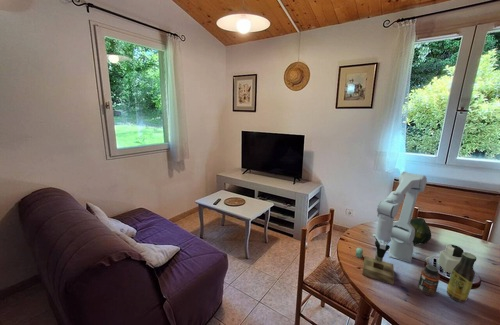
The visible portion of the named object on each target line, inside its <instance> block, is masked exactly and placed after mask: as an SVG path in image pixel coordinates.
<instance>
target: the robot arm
mask: <svg viewBox="0 0 500 325" xmlns="http://www.w3.org/2000/svg"><path fill="white" fill-rule="evenodd" d="M427 181H428V180H427V176H426V175H422V174H417V173H416V174H415V173H411V172H408V171H402V172H401V173H400V174H399V178H398V186H397V187H396V189H395V190H393V191H391V192H390V193H389V194H388V195H387V197H386V198H385V199H384V200H383V201H382V200H381V201H380V202H379V203H378V205H377V208H376V213H377V218H378V219H377V224H376V225H377V226H376V233H372V237H373V238H374V239H375V241H374V245H375V247H376V248H375V249H377V256H378V257H380V258H383V259H384V257H385V254H386V253H387V251H388V257H390V258H392V259H397V260H400V261H403V262H407V263H412V258H413V254H414V246H415V244H414V243H413V240H414V236H415V229H414V227H413V226H412V225H411V224H410V221H411V219H413V218H412V216H413V213H414V210H415V206H416V202H417V198H418V196H419V194H420V193H424V191H425V189H426V186H427ZM401 205H402V208H401V211H400V215H399V219H398V220H395V218H396V216H397V214H398V213H399V210H400V206H401ZM394 220H395V221H394ZM401 227H402V228H401ZM390 242H391V243H390ZM388 244H390V245H388Z"/></svg>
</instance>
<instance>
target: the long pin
mask: <svg viewBox="0 0 500 325" xmlns="http://www.w3.org/2000/svg"><path fill="white" fill-rule="evenodd" d="M375 249H376V251H375V257H374V259H375V260H377V261H379V262H382V261H384V260H383V259H384V257H383V258H380V257H378V256H377V248H375Z"/></svg>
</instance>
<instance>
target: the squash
mask: <svg viewBox="0 0 500 325" xmlns="http://www.w3.org/2000/svg"><path fill="white" fill-rule="evenodd" d="M410 224H411V225H412V226H413V227H414V229H415V236H414V240H413V242H412V243H413V245H425V244H427V243H429V241H430V240H431V239H432V232H431V227H430V226H429V225H428V223H427V221H426V220H425V219H424V218H423V217H415V218H411V221H410ZM401 228H402V227H401Z"/></svg>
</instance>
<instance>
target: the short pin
mask: <svg viewBox="0 0 500 325" xmlns="http://www.w3.org/2000/svg"><path fill="white" fill-rule="evenodd" d="M355 252H356V253H355V257H357V258H358V259H362V257H363V255H364V254H363V252H364V249H363V248H362V247H356V250H355Z"/></svg>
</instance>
